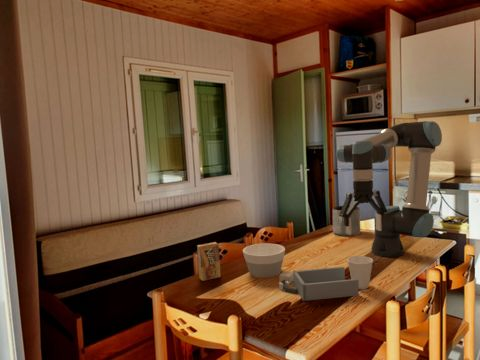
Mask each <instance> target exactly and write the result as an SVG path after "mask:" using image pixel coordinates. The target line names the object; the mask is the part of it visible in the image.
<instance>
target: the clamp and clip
mask: <svg viewBox="0 0 480 360" xmlns="http://www.w3.org/2000/svg"><path fill="white" fill-rule="evenodd" d="M283 280H287V281H285V284H286V285H287V286H288V287H291V285H290V284H291V283H293V272H288V271H283V272H282V273H280V274H279V282H278V289H280V291H284V289H283V283H281V282H282V281H283Z"/></svg>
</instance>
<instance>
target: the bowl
mask: <svg viewBox="0 0 480 360" xmlns="http://www.w3.org/2000/svg"><path fill="white" fill-rule="evenodd" d="M242 254H243V256H244V259H245V263H246V266H247V269H248V272H249V275H250V276H252V277H254V278H261V279H263V278H264V279H266V278H267V279H268V278H273V277H276V276H278V275H280V274H281V271H282V267H283V263H284V259H285V255H286V248H285V246H284V245H281V244H277V243H256V244H255V243H254V244H252V245H251V244H250V245H247V246H245V247H243V249H242Z"/></svg>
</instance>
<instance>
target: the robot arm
mask: <svg viewBox="0 0 480 360" xmlns="http://www.w3.org/2000/svg"><path fill="white" fill-rule="evenodd" d="M442 140H443V134H442V129H441V128H440V125H439V123H437V122H436V121H432V120H431V121H429V120H427V121H426V120H423V121H415V122H414V121H413V122H412V121H411V122H403V123H398V124H396V125H393V126H390V127H388V128H385V129H383V130H381V132H380V133H377V134H375V135H372V136H370V137H367V138H364V139H361V140H356V141H353V143H351V144H349V145H348V144H347V145H346V144H344V145H340V146H338V147H337V149H336V152H335V156H336V159H337V160H338V162H340V163H345V164H346V163H352V179H353V181H352V185H353V186H352V189H353V193H352V192H351V193H350V192H347V193H346V195H345V200H344V202H343V205H342V206H343V207H342V209H341V212H340V214H339V215H340V216H341V217H344V225H345V226H346V233H347V234H349V235H352V233H351V218H349V217H350V216H351V214H352V213H353V211H354V210H355V208H356V207H359V205H360V204H362V205H363V204H368V203H369V205H370V206H371V207H372V209H374V215H373V218H374V239H373V242H372V244H371V248H370V249H371V253H372V254H373V255H376V256H379V257H384V258H385V257H387V258H388V257H389V258H390V257H391V258H392V257H396V258H397V257H400V256H402V255H403V256H404V254H405V249H404V245H403V243H402V240H401V236H400V235H402V236H408V237H413V238H422V239H423V238H427V236H428V235H430V234H431V232H432V230H433V228H434V223H435V221H434V220H435V219H434V215H433V214H432V213H431V212H430V208H429V207H428V206H427V201H428V200H427V199H428V191H429V190H428V189H429V179H430V171H431V161H432V154H433V153H435V152H436V148H437V147H439V146H441V143H442ZM397 147H399V148H401V147H404V148H405V147H406V148H407V150H408V151H409V152H410V161H409V171H408V172H409V173H408V181H407V191H406V203H404V204H403V205H401V206H402V207H401V208H400V206H399V205H387V206H386V205H385V202H384V200H383V199H382V197H381V191H380V190H377V189H374V190H373V188H374V181H373V178H374V176H373V175H374V171H373V164H379V163H381V164H382V163H384V162H387V161H388V160H389V159H390V157H391V149H392V148H397ZM373 197H374V198H373ZM374 199H375V200H374ZM376 202H377V203H376ZM349 206H350V207H349ZM428 237H429V236H428Z"/></svg>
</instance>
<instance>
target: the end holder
mask: <svg viewBox="0 0 480 360" xmlns="http://www.w3.org/2000/svg"><path fill="white" fill-rule="evenodd" d="M345 271H346V270H345V266H334V267H326V268H325V267H321V268H314V269H313V268H311V269H302V270H293V271H292V273H293V281H292V283H293V288H296V289H298V292H297V294H299V296H300V298H301V299H302V301H303V302H305V301H307V302H308V301H316V300H326V299H327V300H328V299H335V298H346V297H354V296H355V297H357V296H359V295H360V294H359V292H360V291H359V290H360V289H359V284H358V279H351V278H350V279H346V275H345V273H346V272H345Z"/></svg>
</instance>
